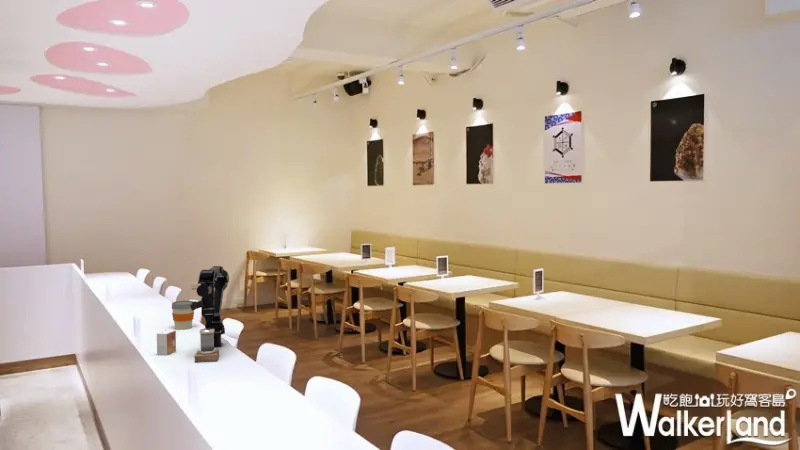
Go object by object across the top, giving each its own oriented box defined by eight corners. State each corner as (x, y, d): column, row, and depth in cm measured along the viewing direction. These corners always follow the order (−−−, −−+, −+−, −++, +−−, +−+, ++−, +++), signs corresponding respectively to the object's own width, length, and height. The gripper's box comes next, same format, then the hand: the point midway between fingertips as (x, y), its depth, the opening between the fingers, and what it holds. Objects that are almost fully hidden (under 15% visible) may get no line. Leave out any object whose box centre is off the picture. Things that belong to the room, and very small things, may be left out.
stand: (197, 356, 283) (197, 350, 283) (219, 355, 285) (219, 349, 285) (194, 362, 273) (194, 356, 273) (217, 361, 275) (217, 355, 275)
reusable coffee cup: (199, 327, 345) (199, 302, 344) (181, 331, 334) (180, 305, 334) (185, 324, 352) (185, 299, 351) (167, 328, 341) (166, 303, 340)
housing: (198, 352, 280) (197, 329, 279) (212, 350, 284) (211, 327, 283) (202, 355, 275) (201, 332, 274) (216, 353, 278) (216, 330, 278)
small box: (167, 355, 285) (166, 334, 285) (156, 354, 286) (156, 333, 286) (176, 351, 293) (176, 330, 293) (166, 350, 294) (166, 329, 294)
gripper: (191, 294, 296) (190, 325, 295) (190, 297, 278) (190, 330, 278) (214, 293, 299) (214, 324, 299) (215, 296, 282) (214, 329, 281)
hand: (207, 326), depth 289 cm, fingers open, 9 cm apart
